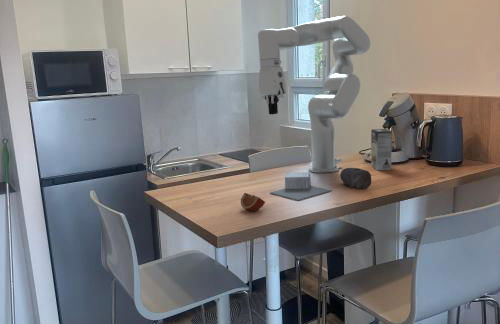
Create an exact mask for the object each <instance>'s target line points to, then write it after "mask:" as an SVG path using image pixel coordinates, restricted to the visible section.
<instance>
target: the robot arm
mask: <svg viewBox="0 0 500 324" xmlns="http://www.w3.org/2000/svg"><path fill="white" fill-rule="evenodd" d="M257 39H258V40H257V41H258V55H259V67H260V69H259V73H258V74H259V75H258V80H259V81H258V88H259V94H260V96H261V99H264V100H265V101H266V104H268V105H267V108H268V114H269V115H278V113H279V110H278V103H279V101H280V99H283V98H284V97H285V96H284V94H286V92H287V86H286V81H285V78H286V77H285V73H284V69H283V67H281V64H282V60H281V52H280V51H282V50H283V51H284V50H290V49H294V48H295V47H305V46H312V45H316V44H321V43H324V42H329V41H333V42H332V51H333V58H334V64H333V67H332V68H331V70H330V72H329V73H328V76H327V77H326V79H324V80H325V81H324V83H323V85H322V92H323V94H317V95H314V96H312V97H311V98H310V99H309V101H308V105H307V110H308V115H309V120H310V130H311V131H310V132H311V133H310V134H311V136H310V138H311V141H310V142H311V165H310V166H308V171H309V172H310V173H317V174H327V173H334V172H338V171H339V168H340V167H339V166H337V164H340V163H342V161H343V160H342V158H336V156H335V155H336V152H335V150H336V149H335V126H334V122H333V121H332V119H335V120H337V119H343V118H345V117H346V116H347V115H348V113H349V112H350V110H351V108H352V107H353V105H354V103H355V101H356V99H357V97H358V95H359V93H360V91H361V81H360V78H359V77H358V76H357V75H356V74H354V65H353V64H354V63H353V62H352V59H351V56H355V55H363V54H365V53H367V52H368V51H369V49H370V47H371V39H370V37H369V35H368V34H367V32H366V31H365V30H364V29H363V28H362V27H361V26H360V24H358V23H357V22H356V21H355V20H354V19H353V18H352V17H350V16H347V15H342V16H335V17H330V18H329V17H328V18H325V19H320V20H314V21H310V22H309V21H308V22H305V23H301V24H297V25H295V26H290V27H287V28H280V29H275V28H269V29H268V28H265V29H261V30H259V31H258V34H257Z"/></svg>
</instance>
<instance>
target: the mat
mask: <svg viewBox="0 0 500 324" xmlns="http://www.w3.org/2000/svg"><path fill="white" fill-rule="evenodd" d="M330 192H332V190H331V189H328V188H324V187H319V186H315V185H310V188H309V189H286V188H285V187H284V188H282V189H278V190H274V191H270V192H269V193H270V194H269V195H274V196H277V197H282V198H285V199H290V200H293V201H297V202H300V201H303V200H306V199H307V200H308V199H310V198H313V197H317V196H321V195H323V194H327V193H330Z"/></svg>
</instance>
